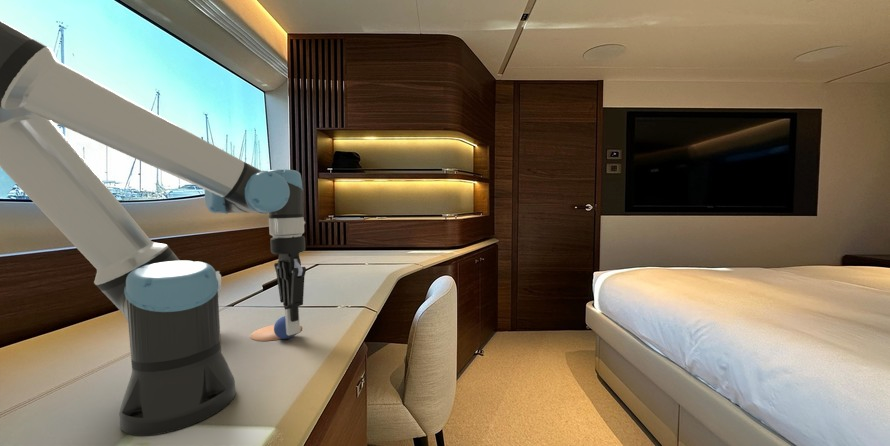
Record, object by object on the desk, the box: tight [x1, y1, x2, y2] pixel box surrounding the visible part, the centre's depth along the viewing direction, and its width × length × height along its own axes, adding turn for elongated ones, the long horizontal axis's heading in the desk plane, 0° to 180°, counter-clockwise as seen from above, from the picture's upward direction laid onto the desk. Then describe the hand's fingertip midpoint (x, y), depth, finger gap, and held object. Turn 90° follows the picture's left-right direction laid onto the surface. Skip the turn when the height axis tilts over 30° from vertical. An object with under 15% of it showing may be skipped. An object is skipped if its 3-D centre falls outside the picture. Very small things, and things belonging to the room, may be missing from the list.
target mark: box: [250, 324, 302, 342], centre depth 92 cm, size 12×12×1 cm
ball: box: [273, 315, 296, 340], centre depth 87 cm, size 6×6×6 cm
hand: (293, 333), depth 85 cm, fingers closed
